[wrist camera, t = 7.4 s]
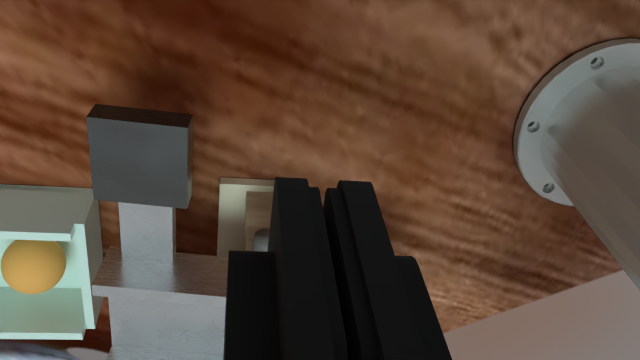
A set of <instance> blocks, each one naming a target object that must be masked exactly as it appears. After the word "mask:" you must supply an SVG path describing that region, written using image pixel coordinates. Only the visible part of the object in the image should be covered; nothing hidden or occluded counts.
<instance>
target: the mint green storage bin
mask: <svg viewBox="0 0 640 360" xmlns="http://www.w3.org/2000/svg"><path fill="white" fill-rule="evenodd" d="M15 240H42V241H56V242H57V243H58V244H59V245H60V246H61V247H62V249H63V251H64V253H65V256H66V269H65V272H64V275H63V277H62V278H61V280H60V281H59V282H58V283H57V284H56V285H55V286H54V287H53V288H51V289H50V290H48V291H45V292H43V293H39V294H24V293H21V292H18V291H16V290H14V289H13V288H11V287H10V286H9V285H8V284H7V283H6V282H5V280H4V278H3V276H2V273H1V259H2V256H3V254H4V252H5V250H6V249H7V247H8V246H9V245H10V244H11V243H12V242H14V241H15ZM102 262H103V250H102V239H101V227H100V215H99V203H98V200H94V197H93V188H73V187H52V186H30V185H8V184H0V339H77V340H83V337H84V333H85V330H86V329H95V326H96V323H97V319H98V316H99V312H100V308H101V305H102V301H103V298H104V296H93V293H92V283H93V281H94V279H95V277H96V275H97V272H98V270H99V268H100V266H101V264H102Z"/></svg>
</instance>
